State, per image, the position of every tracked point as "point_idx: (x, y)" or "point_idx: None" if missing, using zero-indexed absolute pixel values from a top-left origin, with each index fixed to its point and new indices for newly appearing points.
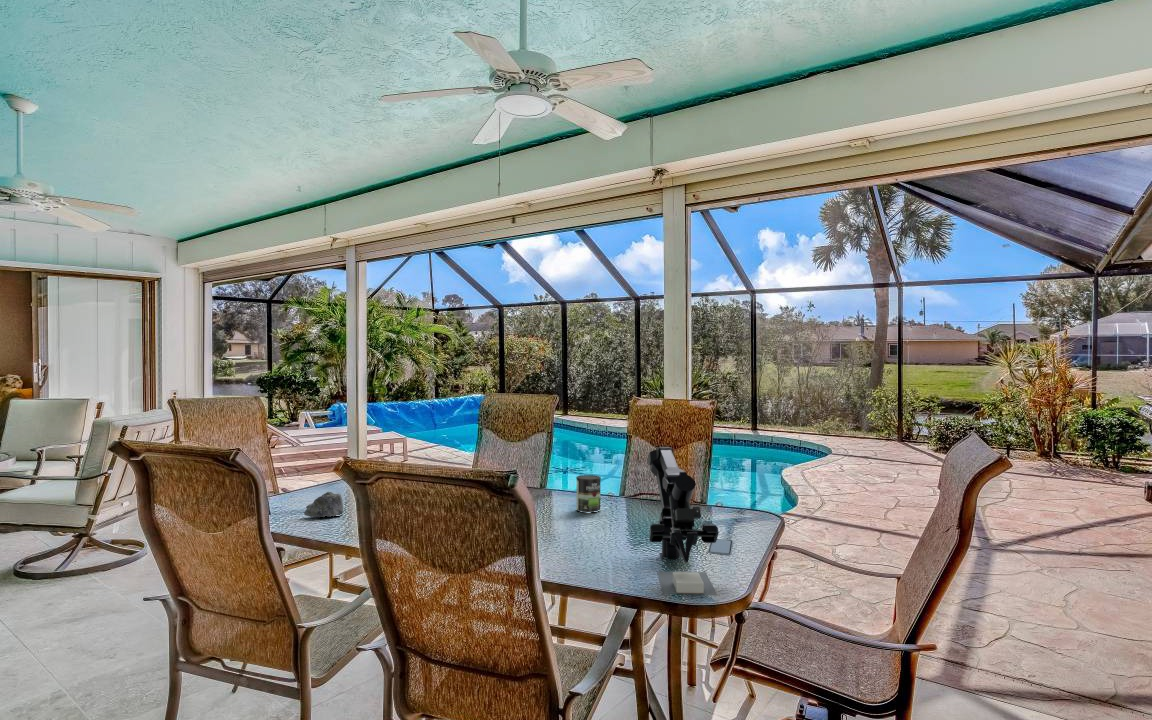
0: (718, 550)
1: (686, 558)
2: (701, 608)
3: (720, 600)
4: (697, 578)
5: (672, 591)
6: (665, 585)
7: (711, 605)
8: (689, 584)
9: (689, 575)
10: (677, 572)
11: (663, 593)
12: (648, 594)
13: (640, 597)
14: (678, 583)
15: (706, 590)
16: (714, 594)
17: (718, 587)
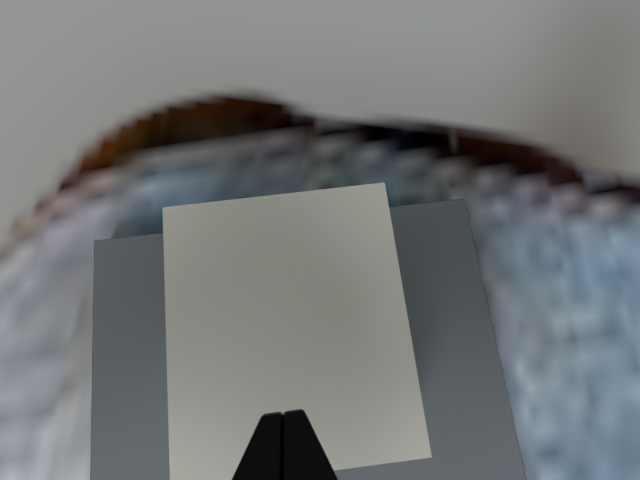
0: None
1: (282, 433)
2: (229, 93)
3: (94, 221)
4: (201, 311)
5: (403, 245)
6: (462, 355)
7: (165, 140)
8: (281, 196)
9: (268, 383)
10: (383, 450)
11: (461, 199)
12: (555, 243)
13: (595, 187)
14: (369, 187)
15: (158, 305)
16: (115, 239)
17: (52, 468)
